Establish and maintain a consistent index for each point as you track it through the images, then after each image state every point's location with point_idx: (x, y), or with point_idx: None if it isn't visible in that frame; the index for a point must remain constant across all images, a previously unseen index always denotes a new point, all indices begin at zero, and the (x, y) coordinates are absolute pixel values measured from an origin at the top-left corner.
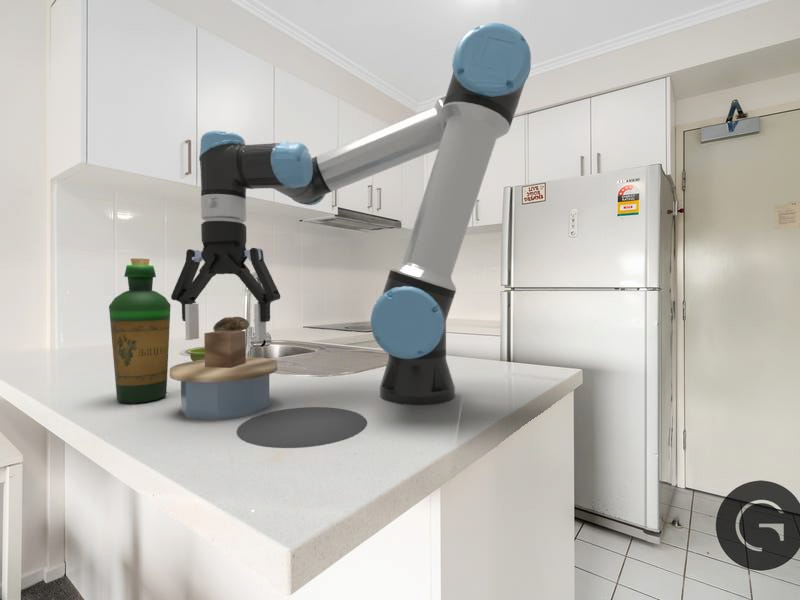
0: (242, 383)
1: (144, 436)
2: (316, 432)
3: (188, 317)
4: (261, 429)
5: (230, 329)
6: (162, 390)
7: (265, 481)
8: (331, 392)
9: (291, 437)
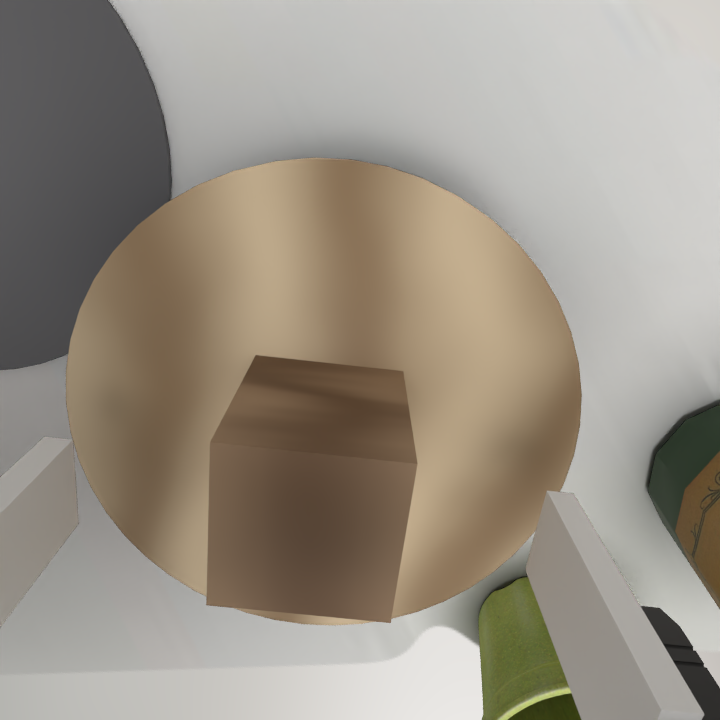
0: None
1: (473, 9)
2: None
3: (609, 602)
4: (54, 78)
5: None
6: (662, 485)
7: None
8: (59, 579)
9: None
